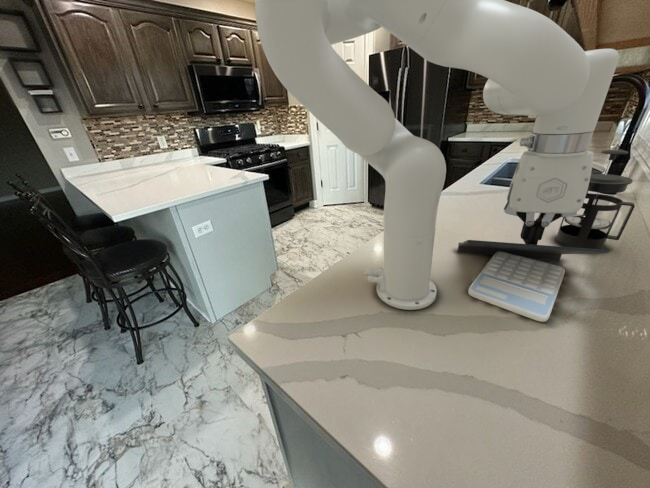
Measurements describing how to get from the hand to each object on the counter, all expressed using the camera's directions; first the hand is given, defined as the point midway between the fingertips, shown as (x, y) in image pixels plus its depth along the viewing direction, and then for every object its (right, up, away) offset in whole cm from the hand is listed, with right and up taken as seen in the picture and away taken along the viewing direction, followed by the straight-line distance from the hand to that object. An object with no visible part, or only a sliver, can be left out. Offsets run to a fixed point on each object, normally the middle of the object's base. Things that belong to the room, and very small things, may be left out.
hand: (529, 242), depth 51 cm
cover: (+2, -1, +5) cm, 6 cm away
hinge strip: (+5, -4, +14) cm, 15 cm away
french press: (+26, -1, +16) cm, 30 cm away
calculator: (+1, -9, +5) cm, 10 cm away
